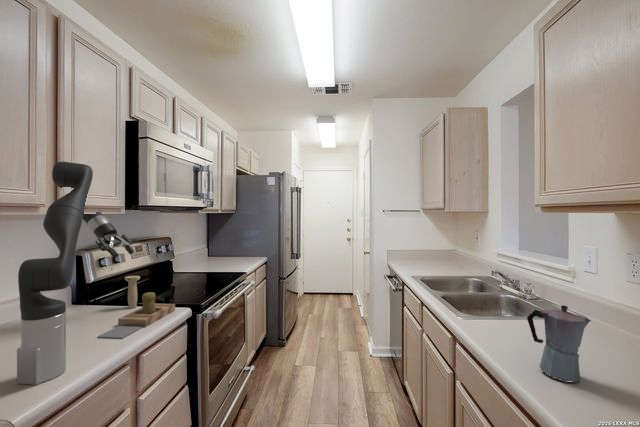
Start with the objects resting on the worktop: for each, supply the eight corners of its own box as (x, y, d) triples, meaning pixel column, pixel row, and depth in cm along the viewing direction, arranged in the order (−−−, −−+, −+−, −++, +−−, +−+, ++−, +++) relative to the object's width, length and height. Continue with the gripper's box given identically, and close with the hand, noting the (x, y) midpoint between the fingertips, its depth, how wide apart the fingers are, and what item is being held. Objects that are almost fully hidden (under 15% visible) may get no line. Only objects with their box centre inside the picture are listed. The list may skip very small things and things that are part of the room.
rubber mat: (122, 338, 106) (122, 337, 106) (97, 337, 106) (97, 336, 106) (141, 328, 116) (141, 326, 116) (118, 327, 116) (118, 325, 116)
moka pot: (602, 388, 76) (603, 312, 76) (538, 382, 79) (538, 309, 79) (576, 368, 86) (577, 301, 85) (519, 364, 88) (520, 299, 88)
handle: (129, 305, 143) (129, 275, 143) (142, 305, 143) (142, 275, 143) (122, 309, 138) (122, 278, 138) (136, 309, 138) (136, 277, 138)
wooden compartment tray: (145, 327, 116) (145, 319, 116) (118, 326, 117) (118, 318, 117) (175, 310, 136) (175, 304, 136) (151, 309, 137) (151, 303, 137)
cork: (138, 320, 123) (138, 295, 123) (143, 315, 129) (143, 291, 129) (154, 319, 125) (154, 294, 125) (158, 314, 131) (158, 290, 131)
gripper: (92, 223, 122) (116, 251, 121) (120, 221, 136) (142, 246, 135) (81, 235, 123) (105, 263, 122) (110, 232, 137) (132, 257, 136)
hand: (124, 254), depth 128 cm, fingers open, 8 cm apart
